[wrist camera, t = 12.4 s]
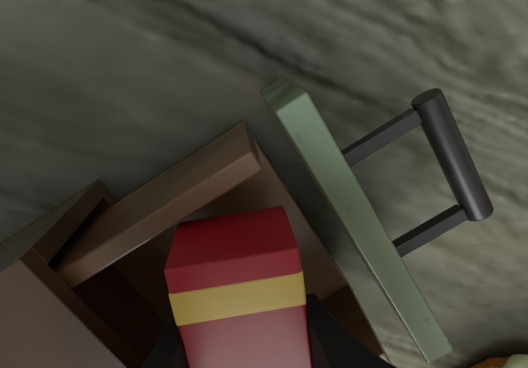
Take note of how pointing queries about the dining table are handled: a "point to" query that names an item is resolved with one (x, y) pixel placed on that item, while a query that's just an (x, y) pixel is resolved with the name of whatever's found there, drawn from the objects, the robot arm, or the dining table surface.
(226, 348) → the chocolate bar
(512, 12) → the dining table surface
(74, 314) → the cabinet
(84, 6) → the dining table surface
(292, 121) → the drawer
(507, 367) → the decorated donut
